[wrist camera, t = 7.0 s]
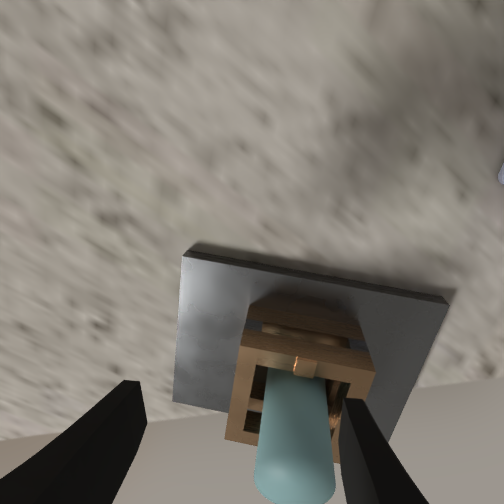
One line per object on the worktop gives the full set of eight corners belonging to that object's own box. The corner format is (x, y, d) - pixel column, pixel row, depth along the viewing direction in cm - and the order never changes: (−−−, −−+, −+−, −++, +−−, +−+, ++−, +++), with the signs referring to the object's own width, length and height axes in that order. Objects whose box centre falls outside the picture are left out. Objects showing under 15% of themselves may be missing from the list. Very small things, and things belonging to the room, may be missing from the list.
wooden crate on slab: (442, 296, 20) (491, 352, 15) (383, 433, 24) (405, 510, 19) (187, 250, 20) (155, 289, 16) (176, 391, 25) (149, 454, 20)
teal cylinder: (311, 331, 20) (319, 445, 13) (329, 374, 21) (346, 503, 14) (261, 345, 21) (241, 460, 14) (281, 386, 22) (271, 513, 15)
